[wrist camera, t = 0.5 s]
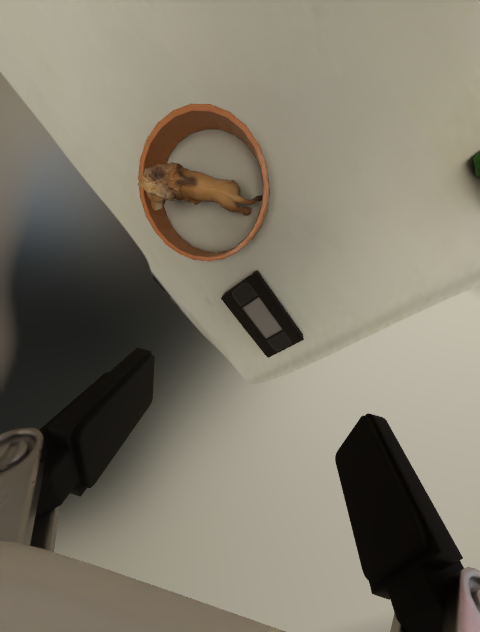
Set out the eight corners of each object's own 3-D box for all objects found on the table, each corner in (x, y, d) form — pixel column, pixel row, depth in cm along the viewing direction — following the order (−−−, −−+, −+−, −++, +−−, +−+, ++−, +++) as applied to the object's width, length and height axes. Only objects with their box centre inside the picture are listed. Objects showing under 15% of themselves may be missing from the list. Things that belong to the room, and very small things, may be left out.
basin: (152, 121, 29) (129, 102, 24) (277, 125, 27) (278, 105, 22) (162, 250, 36) (146, 254, 31) (261, 261, 34) (259, 266, 29)
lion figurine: (170, 212, 33) (136, 208, 25) (167, 172, 31) (128, 154, 23) (262, 216, 31) (257, 214, 23) (266, 174, 29) (261, 155, 21)
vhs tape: (268, 351, 41) (267, 357, 39) (223, 294, 37) (220, 298, 36) (302, 334, 38) (303, 339, 36) (257, 270, 35) (256, 272, 33)
